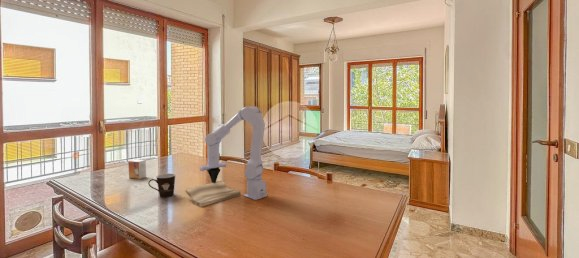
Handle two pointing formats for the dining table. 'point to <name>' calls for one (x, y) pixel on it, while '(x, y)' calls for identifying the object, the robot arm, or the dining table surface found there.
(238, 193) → the laid boards
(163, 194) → the coffee mug
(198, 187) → the plank
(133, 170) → the small box
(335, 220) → the dining table surface
